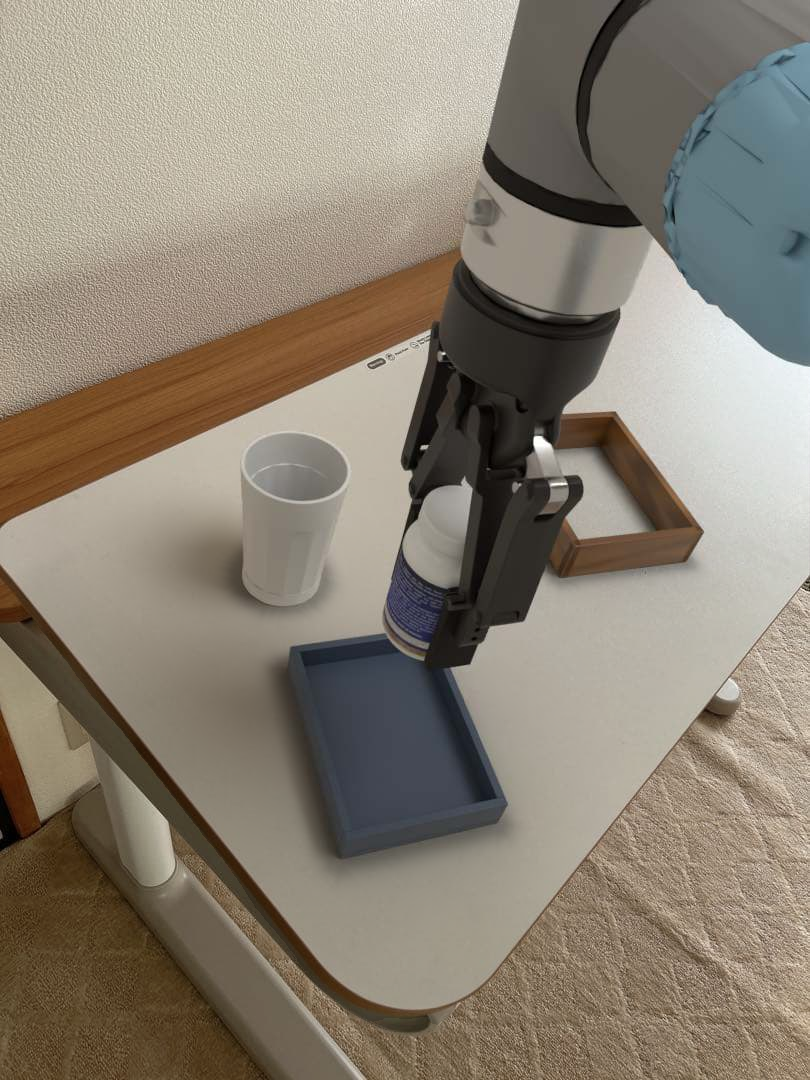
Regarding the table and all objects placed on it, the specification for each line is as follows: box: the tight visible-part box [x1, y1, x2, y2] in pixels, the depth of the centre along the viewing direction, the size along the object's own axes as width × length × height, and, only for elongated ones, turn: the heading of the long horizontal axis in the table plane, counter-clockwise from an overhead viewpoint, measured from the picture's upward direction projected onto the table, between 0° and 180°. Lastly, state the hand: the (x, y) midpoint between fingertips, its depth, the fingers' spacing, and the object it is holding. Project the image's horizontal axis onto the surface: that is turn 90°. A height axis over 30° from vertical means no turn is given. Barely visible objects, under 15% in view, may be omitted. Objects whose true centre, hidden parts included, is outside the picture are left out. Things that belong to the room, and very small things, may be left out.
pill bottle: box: [381, 485, 472, 661], centre depth 51 cm, size 6×6×10 cm
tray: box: [286, 632, 509, 860], centre depth 62 cm, size 15×11×3 cm
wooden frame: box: [549, 410, 705, 578], centre depth 85 cm, size 18×14×4 cm
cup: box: [239, 429, 352, 607], centre depth 68 cm, size 8×8×12 cm
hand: (429, 619), depth 54 cm, fingers closed on pill bottle, 6 cm apart
